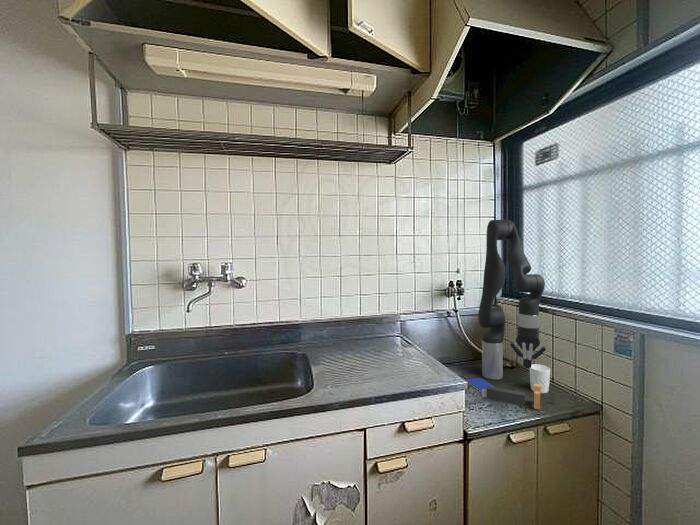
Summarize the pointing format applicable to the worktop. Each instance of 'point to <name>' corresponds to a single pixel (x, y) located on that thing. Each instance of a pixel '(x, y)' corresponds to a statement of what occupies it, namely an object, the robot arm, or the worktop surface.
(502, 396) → the gray rectangular block
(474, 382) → the hard drive
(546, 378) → the white cup
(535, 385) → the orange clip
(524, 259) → the robot arm
